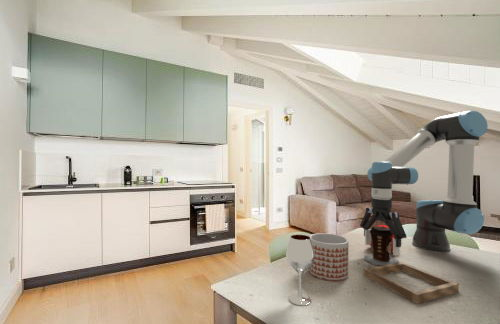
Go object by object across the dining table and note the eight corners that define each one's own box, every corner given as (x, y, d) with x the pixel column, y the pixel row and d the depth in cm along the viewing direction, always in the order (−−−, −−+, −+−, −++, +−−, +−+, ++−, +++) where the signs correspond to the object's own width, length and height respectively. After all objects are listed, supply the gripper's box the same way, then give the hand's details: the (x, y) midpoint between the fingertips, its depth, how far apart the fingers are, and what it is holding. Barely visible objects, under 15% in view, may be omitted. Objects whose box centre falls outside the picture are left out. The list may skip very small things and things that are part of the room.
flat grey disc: (379, 253, 111) (379, 252, 111) (407, 264, 98) (407, 263, 98) (357, 257, 106) (357, 255, 106) (383, 269, 94) (383, 267, 94)
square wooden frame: (401, 268, 94) (401, 262, 94) (458, 292, 77) (458, 284, 77) (364, 276, 87) (364, 268, 87) (417, 303, 70) (417, 294, 70)
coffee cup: (389, 256, 105) (389, 226, 106) (396, 264, 97) (396, 231, 97) (367, 255, 107) (367, 225, 107) (373, 262, 99) (373, 229, 99)
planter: (301, 271, 90) (301, 237, 91) (322, 262, 99) (322, 231, 99) (334, 285, 80) (335, 246, 80) (355, 274, 89) (355, 239, 89)
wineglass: (319, 299, 71) (319, 237, 72) (305, 311, 65) (306, 243, 66) (295, 289, 77) (295, 232, 77) (280, 300, 71) (280, 237, 71)
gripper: (351, 195, 113) (351, 241, 112) (403, 202, 90) (403, 261, 89) (364, 194, 116) (364, 240, 115) (417, 202, 92) (417, 258, 92)
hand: (381, 249), depth 102 cm, fingers open, 13 cm apart
